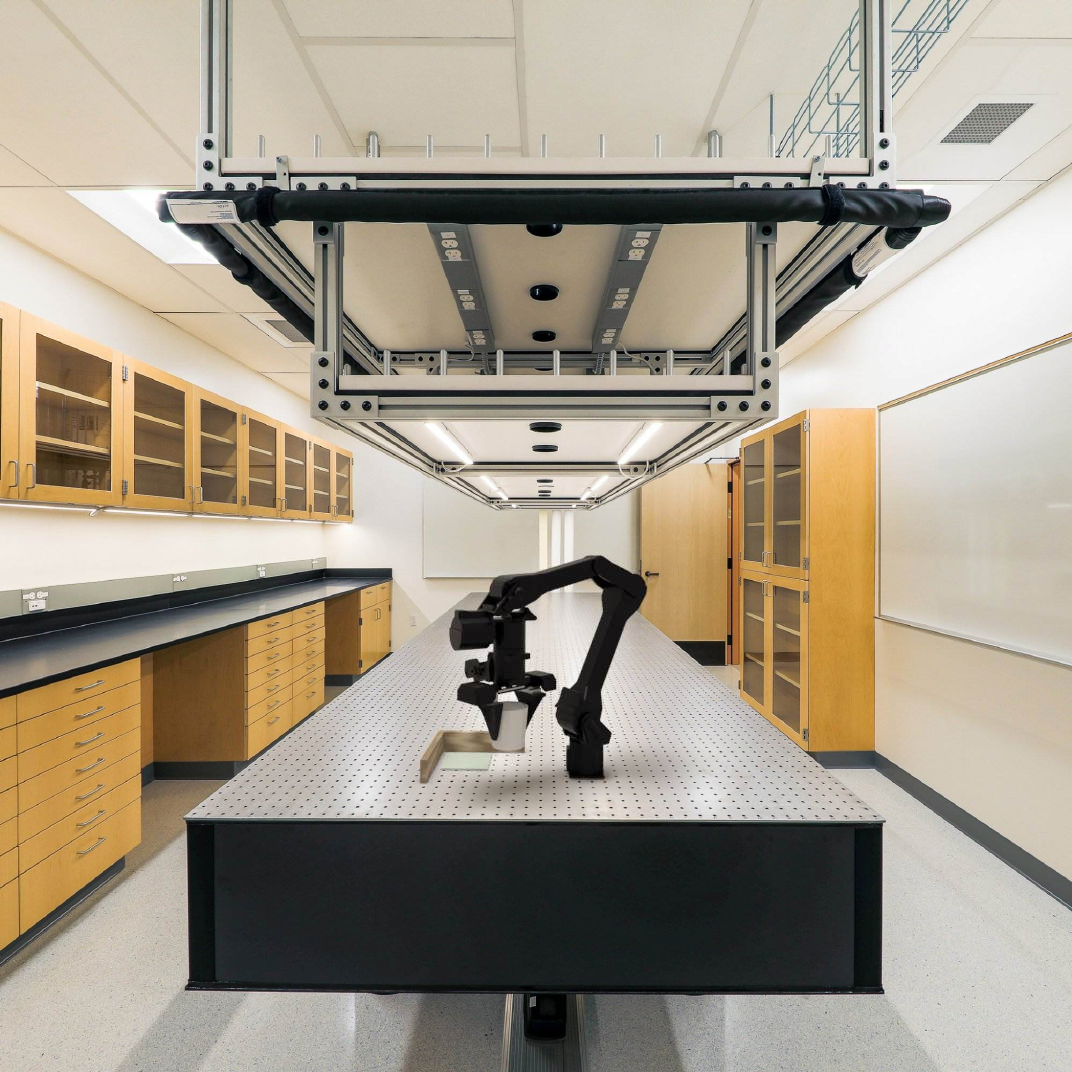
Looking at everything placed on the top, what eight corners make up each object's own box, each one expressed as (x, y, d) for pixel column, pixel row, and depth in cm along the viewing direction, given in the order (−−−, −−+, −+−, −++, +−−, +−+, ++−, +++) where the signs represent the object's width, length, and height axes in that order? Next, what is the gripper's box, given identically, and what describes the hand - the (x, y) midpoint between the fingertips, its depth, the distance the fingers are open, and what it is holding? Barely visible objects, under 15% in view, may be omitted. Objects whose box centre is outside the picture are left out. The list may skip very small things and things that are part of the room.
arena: (524, 750, 124) (524, 731, 124) (520, 784, 106) (520, 761, 106) (438, 749, 124) (439, 730, 124) (419, 782, 106) (420, 760, 106)
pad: (492, 754, 121) (492, 753, 121) (487, 770, 112) (487, 768, 112) (448, 753, 121) (448, 752, 122) (440, 769, 112) (440, 768, 113)
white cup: (507, 737, 109) (507, 698, 109) (536, 744, 104) (536, 704, 105) (480, 746, 103) (480, 705, 104) (509, 754, 99) (510, 712, 99)
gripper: (518, 637, 117) (517, 717, 116) (438, 646, 104) (437, 737, 103) (558, 643, 109) (558, 729, 108) (478, 654, 96) (477, 752, 95)
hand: (508, 736), depth 104 cm, fingers closed on white cup, 6 cm apart
